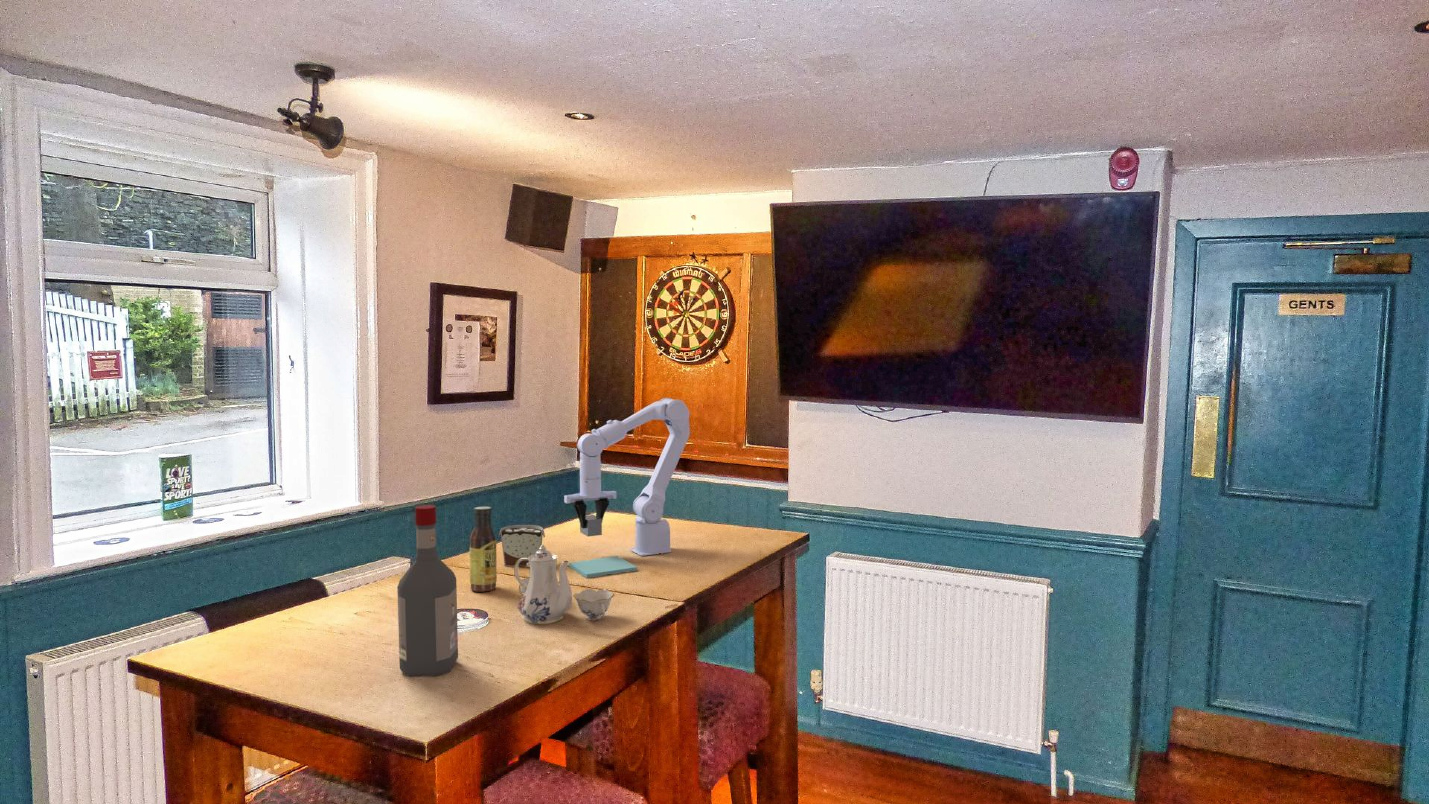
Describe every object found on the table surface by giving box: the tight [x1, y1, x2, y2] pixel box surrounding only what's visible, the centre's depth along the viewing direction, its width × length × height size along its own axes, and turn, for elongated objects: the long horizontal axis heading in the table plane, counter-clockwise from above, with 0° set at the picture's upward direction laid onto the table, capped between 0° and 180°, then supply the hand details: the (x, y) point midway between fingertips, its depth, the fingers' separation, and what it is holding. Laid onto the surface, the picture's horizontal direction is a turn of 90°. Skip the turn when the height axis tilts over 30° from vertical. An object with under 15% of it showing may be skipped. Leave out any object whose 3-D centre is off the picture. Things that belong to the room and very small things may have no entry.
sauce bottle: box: [469, 506, 498, 593], centre depth 210 cm, size 7×6×20 cm
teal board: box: [567, 555, 638, 579], centre depth 229 cm, size 14×13×1 cm
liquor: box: [397, 504, 459, 678], centre depth 160 cm, size 9×9×30 cm
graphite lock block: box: [579, 514, 603, 537], centre depth 240 cm, size 4×6×4 cm, turn 29°
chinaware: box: [513, 544, 615, 625], centre depth 191 cm, size 28×17×17 cm, turn 59°
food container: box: [498, 524, 546, 568], centre depth 234 cm, size 12×6×10 cm, turn 84°
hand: (591, 526), depth 240 cm, fingers closed on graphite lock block, 4 cm apart
